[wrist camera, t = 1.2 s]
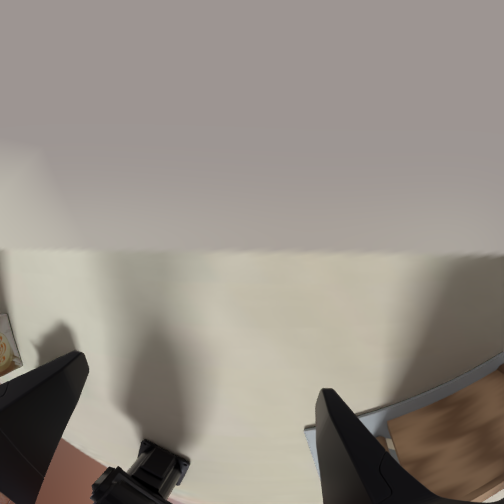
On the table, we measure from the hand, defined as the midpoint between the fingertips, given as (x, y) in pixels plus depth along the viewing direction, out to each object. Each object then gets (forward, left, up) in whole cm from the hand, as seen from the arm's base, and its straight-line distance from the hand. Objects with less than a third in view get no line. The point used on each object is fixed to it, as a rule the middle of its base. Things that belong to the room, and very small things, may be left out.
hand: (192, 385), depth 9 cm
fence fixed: (-3, -23, -14) cm, 27 cm away
